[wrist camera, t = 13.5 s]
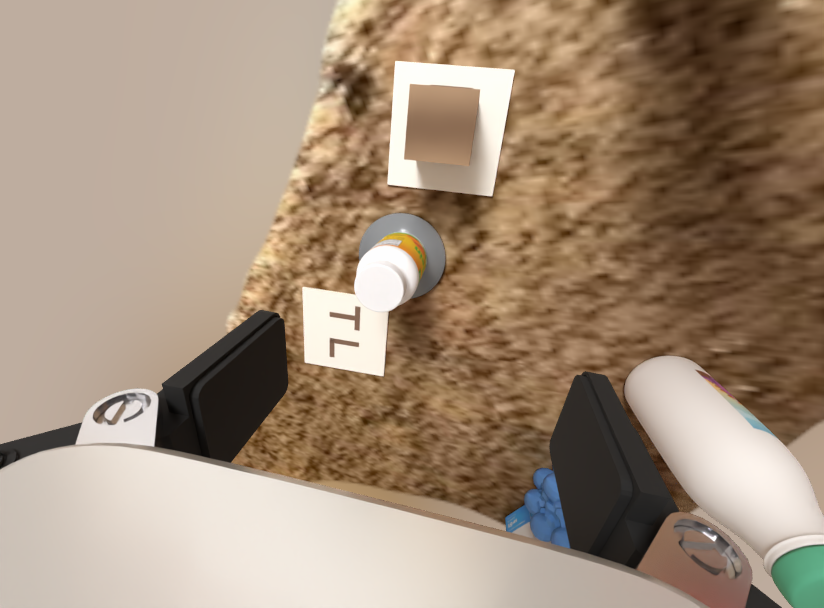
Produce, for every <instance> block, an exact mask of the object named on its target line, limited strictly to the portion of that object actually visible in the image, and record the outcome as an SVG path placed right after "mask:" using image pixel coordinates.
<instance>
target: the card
mask: <svg viewBox="0 0 824 608" xmlns="http://www.w3.org/2000/svg"><path fill="white" fill-rule="evenodd" d="M388 314H389V311H388V312H375V311H372V310H369V309H368V308H366V307H365V306H363V305H362V304H361V303H360V301H359V300H358V298H357V296H356V295H354V294H348V293H341V292H334V291H328V290H321V289H315V288H308V287H303V318H304V350H305V363H310V364H316V365H321V366H327V367H333V368H338V369H344V370H350V371H355V372H361V373H367V374H372V375H378V376H384V367H385V354H386V341H387V327H388Z"/></svg>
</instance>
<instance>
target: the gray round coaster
mask: <svg viewBox="0 0 824 608" xmlns="http://www.w3.org/2000/svg"><path fill="white" fill-rule="evenodd" d="M394 232H406V233H409V234H412V235H414V236H415V237H417V238H418V239H419V240H420V241H421V242H422V244H423V245H424V247H425V250H426V253H427V264H426V268H425V271H424V273H423V275H422V277H421V279H420V282H419V284H418V287H417V289H416V291H415V293H414V294H413V296H412V297H411V298H416V297H419V296H421V295H424V294H425V293H427V292H429V291H430V290H431V289H432V288H433V287H434V286H435V285H436V284H437V282H438V281H439V280H440V278H441V276H442V273H443V270H444V266H445V258H446V256H445V248H444V244H443V242H442V239H441V237H440V235H439V234H438V232H437V231H436V230H435V229H434V227H433V226H432V225H431V224H429V223H428V222H427V221H425V220H424V219H422V218H420V217H418V216H416V215H413V214H408V213H394V214H389V215H386V216H384V217H382V218H380V219H378V220H377V221H375V222H374V223H373V224H372V225H371V226H370V227H369V228H368V229H367V230H366V232H365V234H364V235H363V237H362V240H361V243H360V248H359V260H361V259H362V257H363V256H364V255H365V254H366V253H367V252H368V251H369V250H370V249H371V248H372V247H374V246H375V245H376V244H377V243H378V242H379V241H380V240H381V239H383V238H384V237H385V236H387V235H389V234H391V233H394ZM411 298H410V299H411Z"/></svg>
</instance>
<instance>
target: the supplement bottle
mask: <svg viewBox="0 0 824 608" xmlns="http://www.w3.org/2000/svg"><path fill="white" fill-rule="evenodd" d="M426 264H427V253H426V250H425V247H424V245H423V244H422V242H421V241H420V240H419V239H418V238H417V237H415V236H414V235H412V234H409V233H406V232H394V233H391V234H389V235H387V236H385V237H384V238H383V239H381V240H380V241H379V242H378V243H377V244H376V245H375V246H374V247H372V248H371V249H370V250H369V251H368V252H367V253H366V254H365V255H364V256H363V257H362V259H361V260H360V262H359V264H358V267H357V276H356V279H355V283H354V289H355V294H356V296H357V298H358V300H359V301H360V303H361V304H362V305H363V306H365V307H366V308H368V309H369V310H372V311H375V312H388V311H391V310H393V309H394V308H396V307H397V306H399V305H401V304H403V303H405V302H406V301H408V300H409V299H410V298H411V297H412V296H413V294H414V293H415V291H416V289H417V287H418V284H419V282H420V279H421V277H422V275H423V273H424V271H425V268H426Z"/></svg>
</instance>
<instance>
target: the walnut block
mask: <svg viewBox="0 0 824 608" xmlns="http://www.w3.org/2000/svg"><path fill="white" fill-rule="evenodd" d="M479 97H480V89H468V88H456V87H444V86H431V85H419V84H410V88H409V101H408V114H407V126H406V139H405V152H404V159H405V160H415V161H424V162H434V163H443V164H453V165H462V166H469V165H470V159H471V153H472V146H473V139H474V132H475V126H476V119H477V112H478V106H479Z"/></svg>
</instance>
